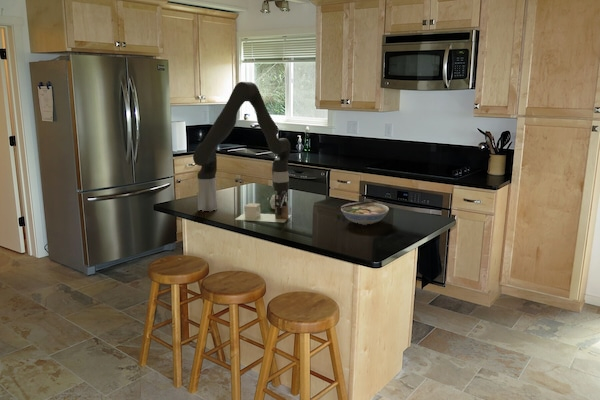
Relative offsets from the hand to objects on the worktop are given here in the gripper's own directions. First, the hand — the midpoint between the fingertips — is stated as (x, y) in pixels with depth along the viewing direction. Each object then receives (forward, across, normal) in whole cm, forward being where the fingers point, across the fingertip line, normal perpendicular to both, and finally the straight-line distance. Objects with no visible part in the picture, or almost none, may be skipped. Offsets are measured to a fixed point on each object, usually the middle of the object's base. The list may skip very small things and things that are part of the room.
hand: (282, 212), depth 253 cm
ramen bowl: (+4, -3, +40) cm, 40 cm away
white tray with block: (+3, 0, -10) cm, 10 cm away
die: (+4, -19, -8) cm, 21 cm away
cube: (+3, 0, -15) cm, 15 cm away
